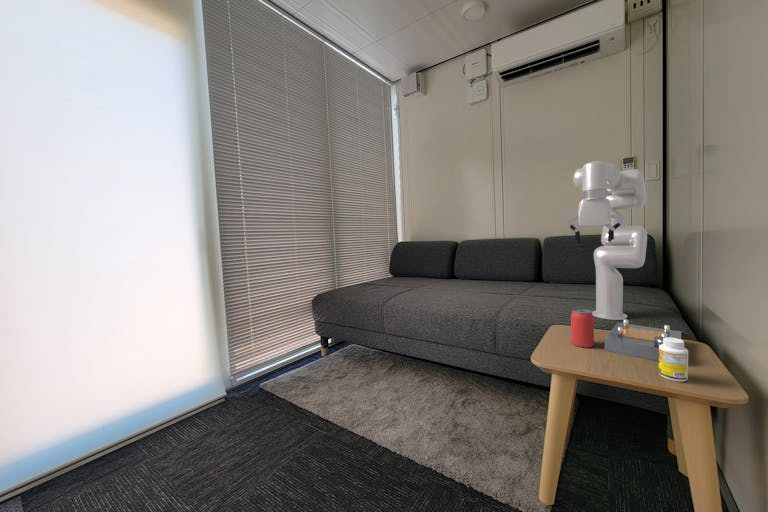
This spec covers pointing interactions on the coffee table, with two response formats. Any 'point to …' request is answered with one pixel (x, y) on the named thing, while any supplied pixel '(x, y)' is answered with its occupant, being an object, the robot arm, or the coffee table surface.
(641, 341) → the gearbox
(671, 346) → the supplement bottle
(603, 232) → the robot arm
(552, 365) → the coffee table surface
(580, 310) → the beer can
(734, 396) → the coffee table surface
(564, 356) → the coffee table surface
